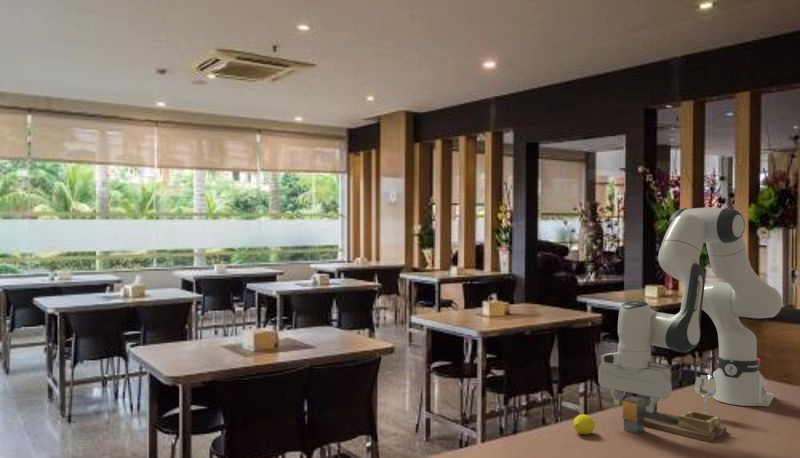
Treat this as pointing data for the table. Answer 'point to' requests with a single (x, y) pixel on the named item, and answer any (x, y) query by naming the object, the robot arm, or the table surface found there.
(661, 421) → the rail
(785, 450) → the table surface
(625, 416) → the grey metal slab
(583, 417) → the lemon
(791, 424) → the table surface
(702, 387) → the wineglass
